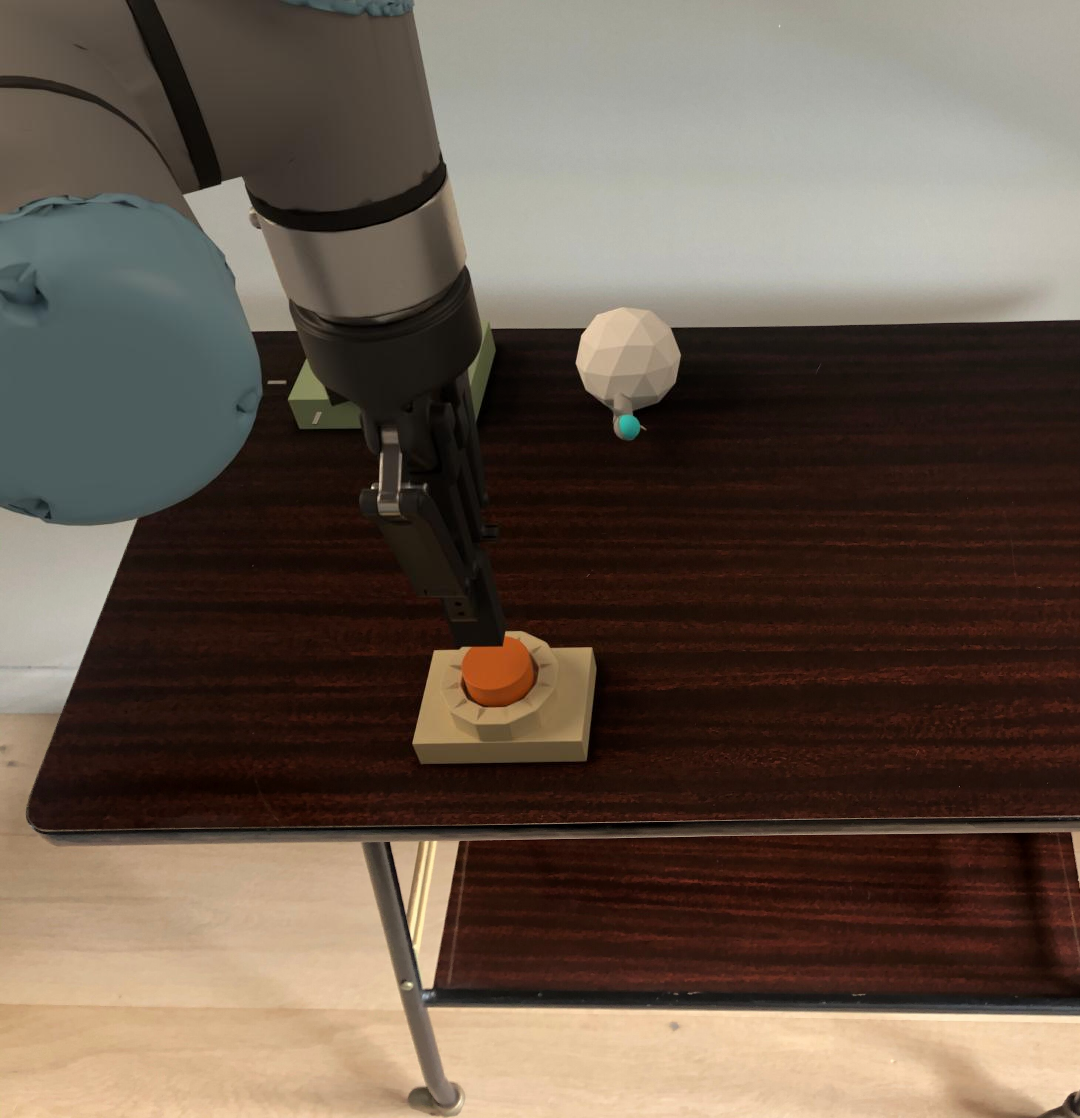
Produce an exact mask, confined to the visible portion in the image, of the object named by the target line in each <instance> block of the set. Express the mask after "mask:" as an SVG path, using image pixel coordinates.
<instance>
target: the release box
mask: <svg viewBox="0 0 1080 1118" xmlns="http://www.w3.org/2000/svg"><path fill="white" fill-rule="evenodd" d="M505 636H507V637H512V638H515V639H517V640H519V641H520V642H522V643H523V644H524V645H525V646H526V648H527V649H528V652H529V655H530V659H531V662H532V666H533V670H534V681H533V684H532V686H531V688H530V690H529V691H528V692H527V693H526V694H525V695H524V696H523V697H522V698H521V699H519V700H518V701H516V702H514V703H512V704H509V705H506V706H501V707H491V706H486V705H482V704H480V703H478V702H477V701H475V700H474V699H473V698H472V697H471V695H470V694H469V692H468V689H467V686H466V683H465V680H464V677H463V675H462V670H461V666H462V661H463V658H464V656H465V654H466V653H467V652H468V650H469V649H470V648H471V647H460V649H437V650H435V649H434V650H433V653H432V658H431V662H430V667H429V671H428V676H427V679H426V684H425V688H424V692H423V697H422V700H421V705H420V709H419V714H418V718H417V722H416V727H415V731H414V735H413V740H412V746H413V749H414V751H415V754H416V755H417V758H418V760H419V763H420V764H421V765H431V764H432V765H439V764H440V765H443V764H445V765H446V764H447V765H448V764H495V763H496V764H498V763H501V764H502V763H503V764H504V763H506V764H507V763H557V762H559V763H561V762H587V759H588V750H589V741H590V733H591V732H590V731H591V725H592V724H591V722H592V716H593V715H592V713H593V706H594V696H595V688H596V687H595V685H596V676H597V669H598V668H597V664H596V659H595V654H594V649H593V647H592V646H591V647H589V646H588V647H586V646H585V647H550V645H549V644H548V642H546V641H544V640H542V639H540V638H538V637H536V636H535V635H534V636H533V635H532V634H529V633H528V632H525V631H522V630H518V631H517V630H515V631H514V630H509V631H507V630H506V632H505Z"/></svg>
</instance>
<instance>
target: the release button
mask: <svg viewBox="0 0 1080 1118" xmlns="http://www.w3.org/2000/svg"><path fill="white" fill-rule="evenodd" d="M461 670H462V675H463V677H464V680H465V683H466V686H467V689H468V692H469V694H470V695H471V697H472V698H473V699H474V700H475V701H477V702H478V703H480V704H482V705H486V706H491V707H501V706H506V705H509V704H512V703H514V702H516V701H518V700H519V699H521V698H522V697H523V696H524V695H525V694H526V693H527V692H528V691H529V690H530V688H531V686H532V684H533V681H534V670H533V666H532V662H531V659H530V655H529V652H528V649H527V648H526V646H525V645H524V644H523V643H522V642H520V641H519V640H517V639H515V638H512V637H507V636H505V637H504V643H503V647H471V648H470V649H469V650H468V652H467V653H466V654H465V656H464V658H463V661H462V666H461Z"/></svg>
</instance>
